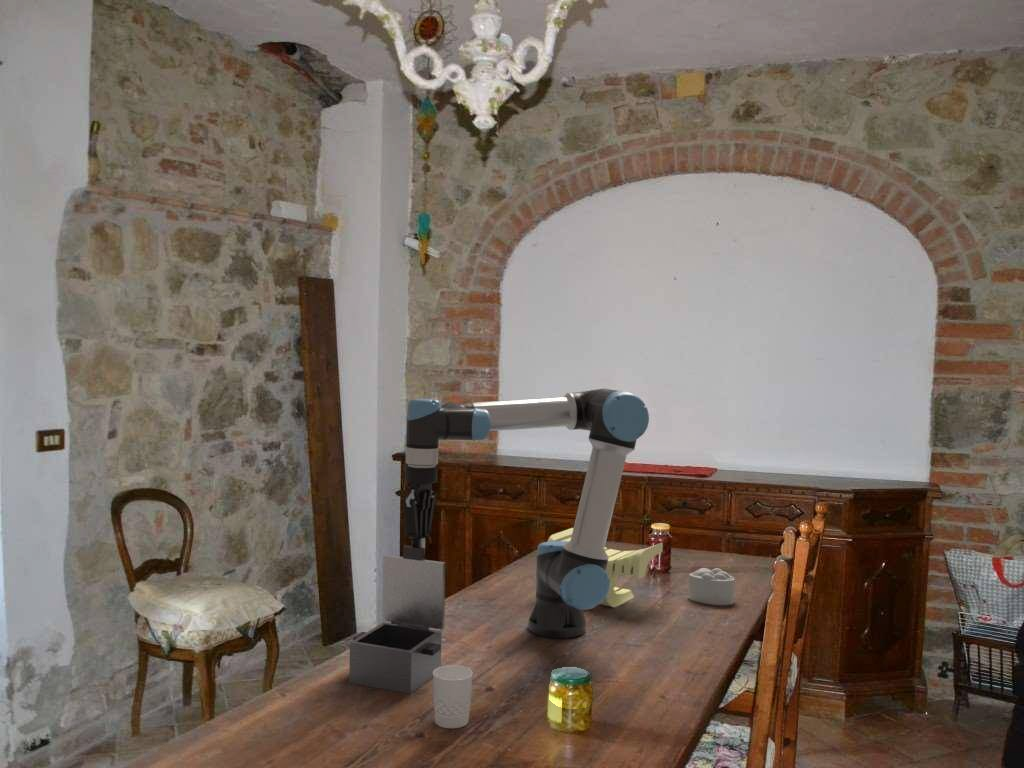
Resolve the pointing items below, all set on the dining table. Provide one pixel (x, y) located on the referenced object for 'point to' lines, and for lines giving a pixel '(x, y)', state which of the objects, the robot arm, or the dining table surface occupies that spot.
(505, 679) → the dining table surface
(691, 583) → the lumpy-topped squat cylinder
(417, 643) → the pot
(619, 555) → the pale yellow slotted stand
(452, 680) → the white cup
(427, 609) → the lid
